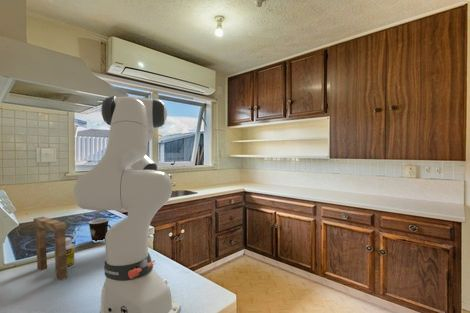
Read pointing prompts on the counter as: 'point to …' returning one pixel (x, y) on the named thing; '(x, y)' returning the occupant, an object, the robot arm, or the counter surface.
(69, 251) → the pill bottle
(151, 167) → the robot arm
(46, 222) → the walnut archway
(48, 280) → the counter surface
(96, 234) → the coffee mug
